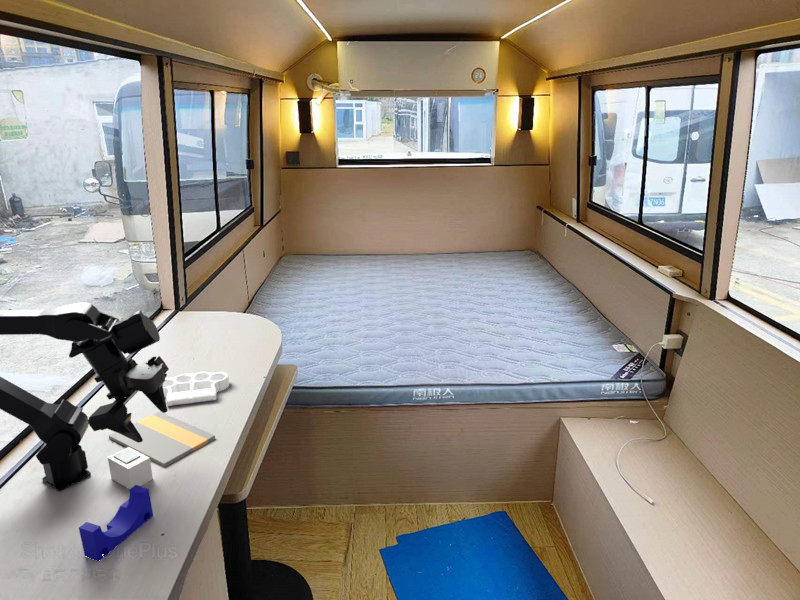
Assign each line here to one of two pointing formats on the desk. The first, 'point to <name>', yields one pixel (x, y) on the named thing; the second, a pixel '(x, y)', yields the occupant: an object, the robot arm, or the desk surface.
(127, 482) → the white block
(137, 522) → the blue cradle bracket
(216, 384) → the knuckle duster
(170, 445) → the grey flat board
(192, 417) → the desk surface
